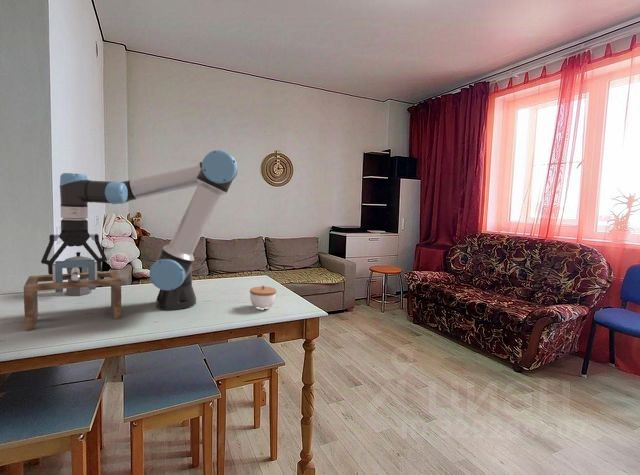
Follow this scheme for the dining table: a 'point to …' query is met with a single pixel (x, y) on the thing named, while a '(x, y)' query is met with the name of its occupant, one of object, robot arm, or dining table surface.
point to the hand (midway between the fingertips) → (75, 282)
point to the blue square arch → (74, 264)
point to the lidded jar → (262, 296)
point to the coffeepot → (80, 290)
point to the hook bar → (75, 275)
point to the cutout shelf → (33, 287)
